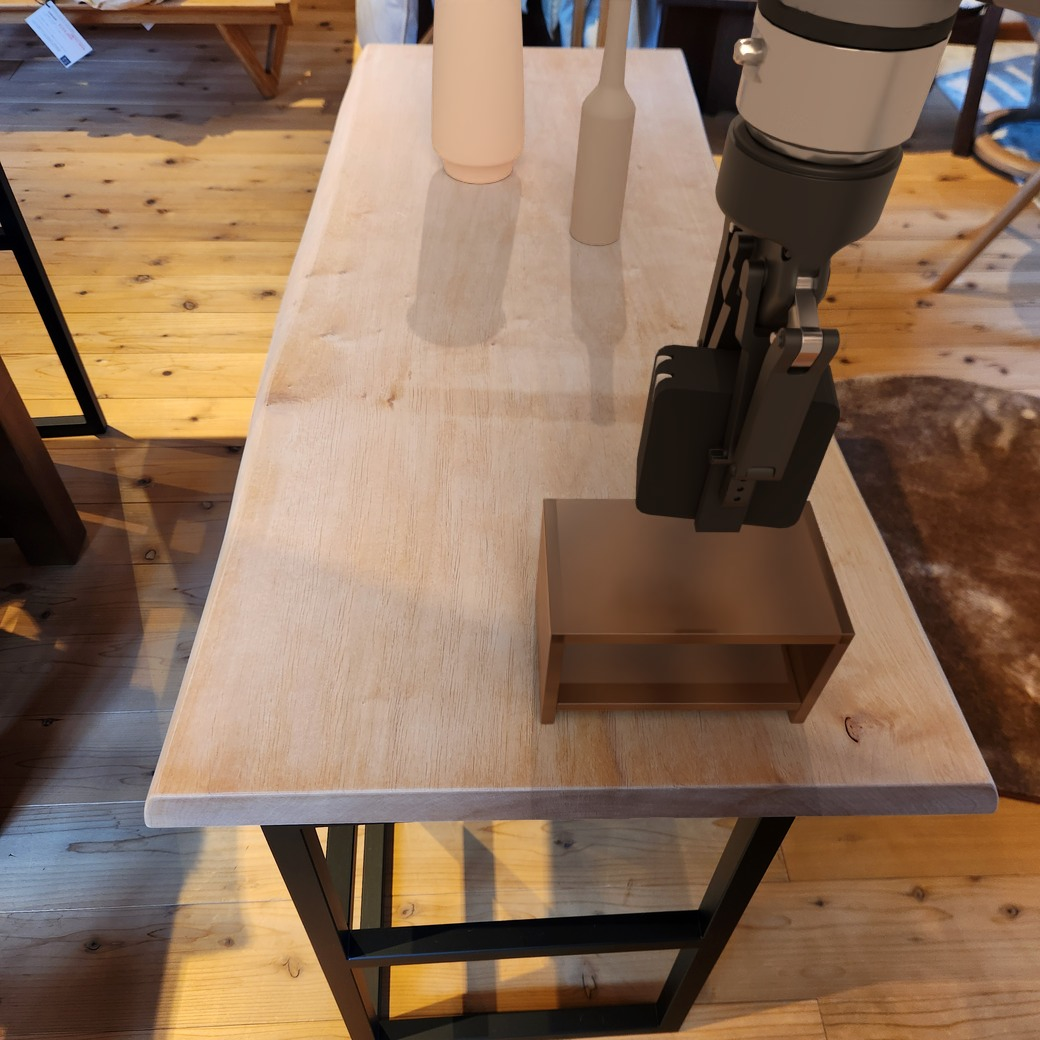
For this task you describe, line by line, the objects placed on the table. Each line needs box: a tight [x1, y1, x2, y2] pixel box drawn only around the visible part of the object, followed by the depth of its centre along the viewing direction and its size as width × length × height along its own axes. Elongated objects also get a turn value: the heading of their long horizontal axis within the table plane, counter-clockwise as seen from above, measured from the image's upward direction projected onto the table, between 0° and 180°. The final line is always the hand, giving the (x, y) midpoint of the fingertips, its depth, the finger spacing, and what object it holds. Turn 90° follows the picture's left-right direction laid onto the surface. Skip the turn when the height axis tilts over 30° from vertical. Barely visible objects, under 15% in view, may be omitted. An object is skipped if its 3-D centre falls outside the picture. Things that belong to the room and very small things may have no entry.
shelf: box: [535, 497, 856, 725], centre depth 63 cm, size 20×12×12 cm, turn 91°
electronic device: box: [635, 344, 841, 528], centre depth 51 cm, size 4×10×10 cm, turn 83°
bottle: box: [569, 0, 637, 246], centre depth 101 cm, size 7×7×28 cm
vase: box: [430, 0, 526, 185], centre depth 112 cm, size 13×13×28 cm
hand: (709, 495), depth 54 cm, fingers closed on electronic device, 5 cm apart
